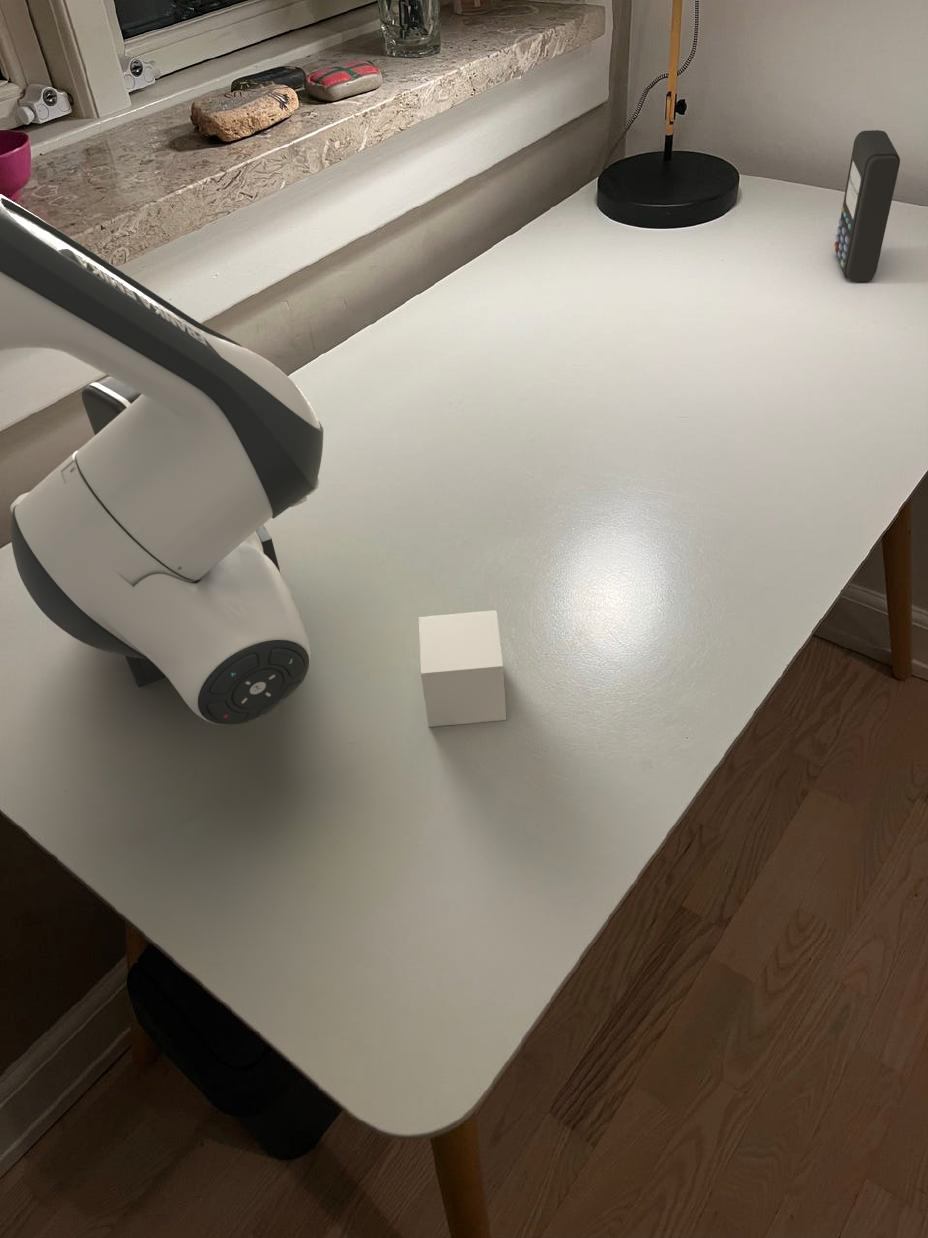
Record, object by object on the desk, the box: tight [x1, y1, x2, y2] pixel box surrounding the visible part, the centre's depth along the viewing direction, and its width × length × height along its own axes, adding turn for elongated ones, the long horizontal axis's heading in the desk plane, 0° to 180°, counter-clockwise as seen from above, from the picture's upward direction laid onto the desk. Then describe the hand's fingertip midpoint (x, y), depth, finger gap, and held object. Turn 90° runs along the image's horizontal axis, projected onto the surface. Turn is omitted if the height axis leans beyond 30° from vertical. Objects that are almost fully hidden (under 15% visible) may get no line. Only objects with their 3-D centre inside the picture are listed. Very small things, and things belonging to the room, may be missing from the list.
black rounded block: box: [81, 376, 141, 436], centre depth 79 cm, size 7×4×11 cm, turn 47°
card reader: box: [833, 129, 901, 282], centre depth 123 cm, size 9×4×15 cm, turn 174°
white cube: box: [418, 609, 507, 728], centre depth 79 cm, size 6×6×6 cm
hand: (138, 442), depth 79 cm, fingers closed on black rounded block, 5 cm apart
